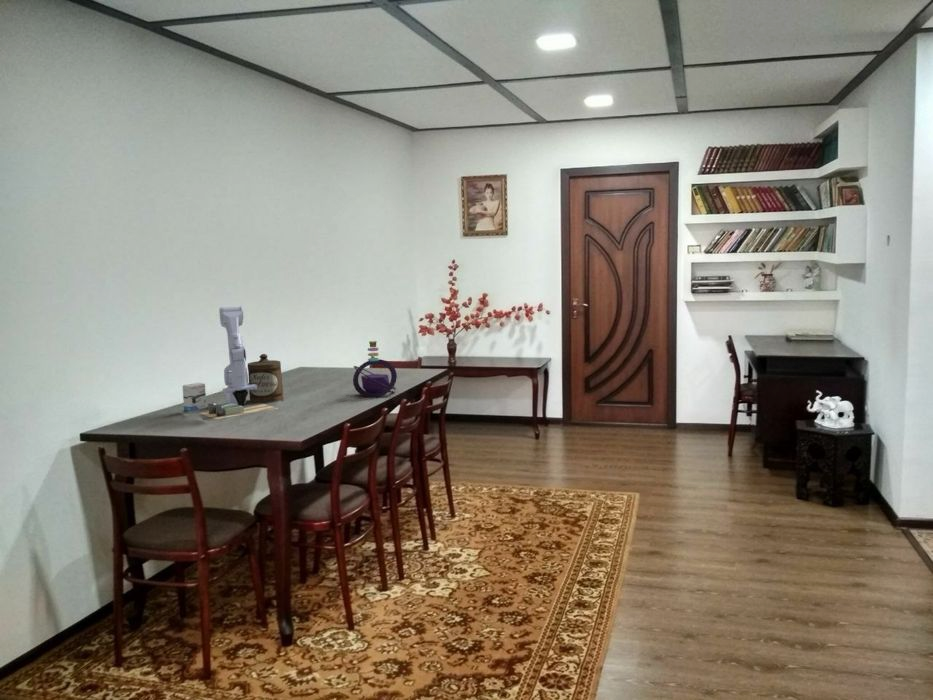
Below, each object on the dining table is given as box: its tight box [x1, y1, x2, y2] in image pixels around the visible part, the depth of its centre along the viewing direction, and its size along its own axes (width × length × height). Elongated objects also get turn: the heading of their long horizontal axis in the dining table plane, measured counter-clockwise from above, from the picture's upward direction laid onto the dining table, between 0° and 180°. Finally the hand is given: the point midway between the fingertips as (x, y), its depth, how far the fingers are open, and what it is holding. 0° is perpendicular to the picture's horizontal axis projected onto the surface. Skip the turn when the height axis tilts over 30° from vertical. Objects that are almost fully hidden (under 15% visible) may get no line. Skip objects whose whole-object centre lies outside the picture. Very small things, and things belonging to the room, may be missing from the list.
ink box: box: [182, 382, 208, 412], centre depth 332 cm, size 8×5×12 cm, turn 149°
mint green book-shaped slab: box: [221, 403, 245, 415], centre depth 322 cm, size 10×8×2 cm
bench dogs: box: [207, 402, 224, 417], centre depth 318 cm, size 11×3×4 cm, turn 41°
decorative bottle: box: [352, 340, 398, 399], centre depth 359 cm, size 22×21×25 cm
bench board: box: [199, 403, 280, 420], centre depth 325 cm, size 18×28×1 cm, turn 131°
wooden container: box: [247, 353, 284, 404], centre depth 348 cm, size 15×15×22 cm
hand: (241, 408), depth 325 cm, fingers closed
